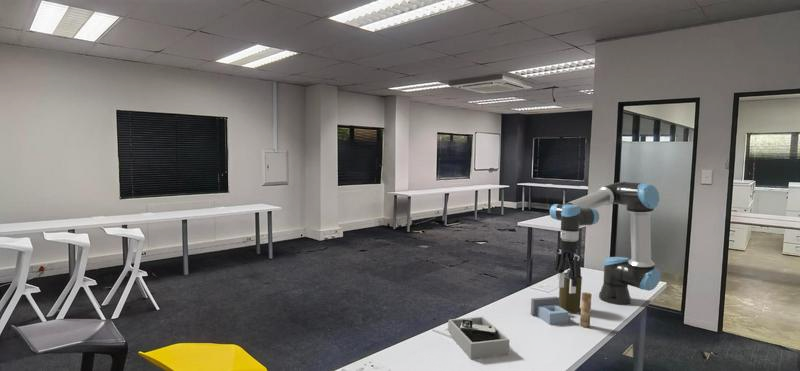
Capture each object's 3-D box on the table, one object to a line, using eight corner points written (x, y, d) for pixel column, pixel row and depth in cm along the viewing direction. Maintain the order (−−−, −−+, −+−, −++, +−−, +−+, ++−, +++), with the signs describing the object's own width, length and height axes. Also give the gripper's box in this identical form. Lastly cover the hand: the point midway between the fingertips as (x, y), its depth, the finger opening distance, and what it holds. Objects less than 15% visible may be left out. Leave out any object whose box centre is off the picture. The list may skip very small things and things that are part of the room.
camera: (497, 342, 169) (498, 318, 168) (495, 350, 162) (496, 325, 161) (460, 336, 174) (461, 313, 173) (457, 343, 167) (458, 319, 166)
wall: (555, 312, 203) (556, 296, 202) (558, 313, 201) (559, 297, 201) (530, 314, 200) (531, 298, 199) (533, 316, 198) (533, 300, 197)
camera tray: (482, 329, 181) (482, 316, 181) (508, 354, 159) (509, 339, 159) (447, 333, 177) (448, 319, 177) (470, 359, 155) (471, 343, 154)
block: (554, 314, 201) (555, 304, 200) (568, 322, 191) (568, 312, 191) (536, 316, 198) (537, 305, 198) (549, 324, 188) (549, 313, 188)
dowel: (585, 323, 190) (587, 292, 189) (591, 327, 186) (593, 295, 185) (578, 324, 189) (579, 292, 188) (584, 328, 185) (585, 295, 184)
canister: (582, 314, 201) (584, 274, 199) (559, 312, 203) (562, 272, 201) (577, 306, 212) (579, 268, 210) (556, 304, 214) (558, 266, 212)
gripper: (548, 235, 191) (545, 283, 193) (577, 245, 172) (574, 298, 174) (561, 234, 193) (559, 282, 195) (592, 244, 174) (589, 297, 176)
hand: (566, 290), depth 184 cm, fingers open, 7 cm apart
